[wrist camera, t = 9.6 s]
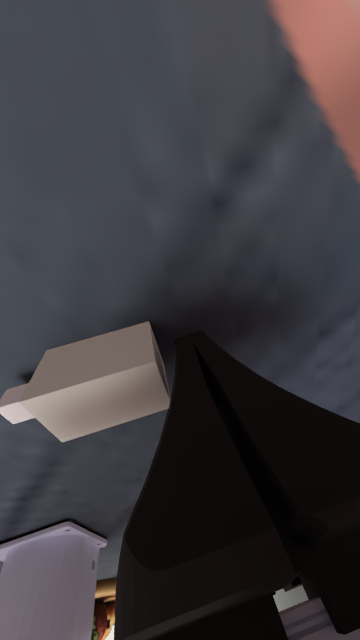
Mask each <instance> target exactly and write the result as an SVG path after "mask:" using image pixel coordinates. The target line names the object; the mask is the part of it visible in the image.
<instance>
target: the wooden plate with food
mask: <svg viewBox="0 0 360 640" xmlns="http://www.w3.org/2000/svg"><path fill="white" fill-rule="evenodd" d="M116 583H117V578H110V579H104V580H98V581H96V591H95V603H94V614H93V625H92V634H91V640H104V639H105V638H106V637H107V636H108V634H109V633H110V631H111V627H112V626H113V624H114V623H115V593H116Z"/></svg>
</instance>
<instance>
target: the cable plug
mask: <svg viewBox="0 0 360 640" xmlns="http://www.w3.org/2000/svg"><path fill="white" fill-rule="evenodd" d="M170 400H171V398H170V393H169V388H168V383H167V378H166V373H165V368H164V363H163V360H162V357H161V355H160V352H159V349H158V346H157V343H156V340H155V337H154V334H153V331H152V328H151V325H150V322H149V321H148V322H144V323H141V324H137V325H134V326H130V327H127V328H123V329H120V330H116V331H113V332H109V333H106V334H102V335H99V336H95V337H92V338H88V339H85V340H81V341H77V342H74V343H70V344H67V345H63V346H60V347H56V348H53V349H49V350H46V352H45V354H44V356H43V358H42V360H41V361H40V363H39V365H38V367H37V369H36V371H35V372H34V374H33V376H32V378H31V380H30V382H29V383H27V384H24V385H20V386H17V387H14V388H10V389H7V390H6V391H5V393H4V395H3V396H2V398H1V399H0V414H1V415H2V416H4V417H5V418H6V419H7V420H9V421H10V422H11V423H12V424H16V423H19V422H22V421H26V420H29V419H32V418H36V419H37V420H38V421H39V422H40V423H41V424H43V425H44V426H45V427H46V428H47V429H48V430H49V431H50V432H51V433H52V434H54V435H55V436H56V437H57V438H58V439H59V440H60V441H61V442H65V441H69V440H72V439H75V438H78V437H81V436H84V435H87V434H91V433H94V432H97V431H100V430H103V429H106V428H109V427H112V426H116V425H119V424H122V423H125V422H128V421H131V420H134V419H138V418H141V417H144V416H147V415H150V414H153V413H156V412H159V411H163V410H166V409H169V405H170Z"/></svg>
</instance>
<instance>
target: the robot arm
mask: <svg viewBox="0 0 360 640" xmlns="http://www.w3.org/2000/svg"><path fill="white" fill-rule="evenodd" d="M175 344H176V366H175V377H174V383H173V389H172V395H171V400H170V405H169V409H168V413H167V417H166V420H165V424H164V427H163V431H162V435H161V438H160V441H159V444H158V447H157V450H156V453H155V456H154V458H153V461H152V464H151V467H150V470H149V473H148V475H147V478H146V481H145V483H144V486H143V488H142V491H141V493H140V496H139V498H138V500H137V503H136V505H135V508H134V510H133V512H132V515H131V517H130V520H129V522H128V525H127V527H126V529H125V532H124V536H123V541H122V547H121V552H120V558H119V565H118V573H117V583H116V593H115V628H114V640H360V423H357V422H354V421H352V420H349V419H347V418H344V417H342V416H340V415H337V414H335V413H333V412H330V411H328V410H326V409H323V408H321V407H319V406H317V405H315V404H313V403H311V402H309V401H307V400H304V399H302V398H300V397H298V396H296V395H294V394H292V393H290V392H288V391H286V390H284V389H282V388H281V387H279V386H277V385H275V384H273V383H271V382H270V381H268V380H266V379H265V378H263V377H261V376H260V375H258V374H256V373H255V372H253V371H252V370H250V369H249V368H247V367H246V366H244V365H243V364H241V363H240V362H239V361H237V360H236V359H235V358H233V357H232V356H231V355H229V354H228V353H227V352H225V351H224V350H223V349H222V348H220V347H219V346H218V345H217V344H216V343H215V342H213V341H212V340H211V339H210V338H209V337H208V336H207V335H206V334H205V333H204V332H203V331H198V332H195V333H192V334H188V335H185V336H182V337H178V338H176V340H175ZM106 545H107V540H106V539H104V538H102V537H100V536H98V535H96V534H94V533H92V532H90V531H88V530H86V529H84V528H82V527H80V526H78V525H76V524H74V523H72V522H63V523H61V524H58V525H55V526H52V527H49V528H46V529H43V530H41V531H38V532H35V533H32V534H29V535H26V536H23V537H21V538H18V539H15V540H12V541H9V542H6V543H3V544H1V545H0V561H3V562H4V564H3V567H2V570H1V573H0V640H91V634H92V625H93V614H94V603H95V591H96V580H97V569H98V557H99V548H102V547H105V546H106ZM301 585H303V587H304V590H305V591H306V594H307V596H308V599H309V600H307V601H304V602H302V603H299V604H297V605H295V606H292V607H290V608H287V609H285V610H282V611H280V612H278V609H277V607H276V604H275V601H274V598H273V595H275V594H276V593H275V591H277V590H280V589H282V588H284V590H285V592H286V591H289V590H291V589H294V588H296V587H298V586H301Z"/></svg>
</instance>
